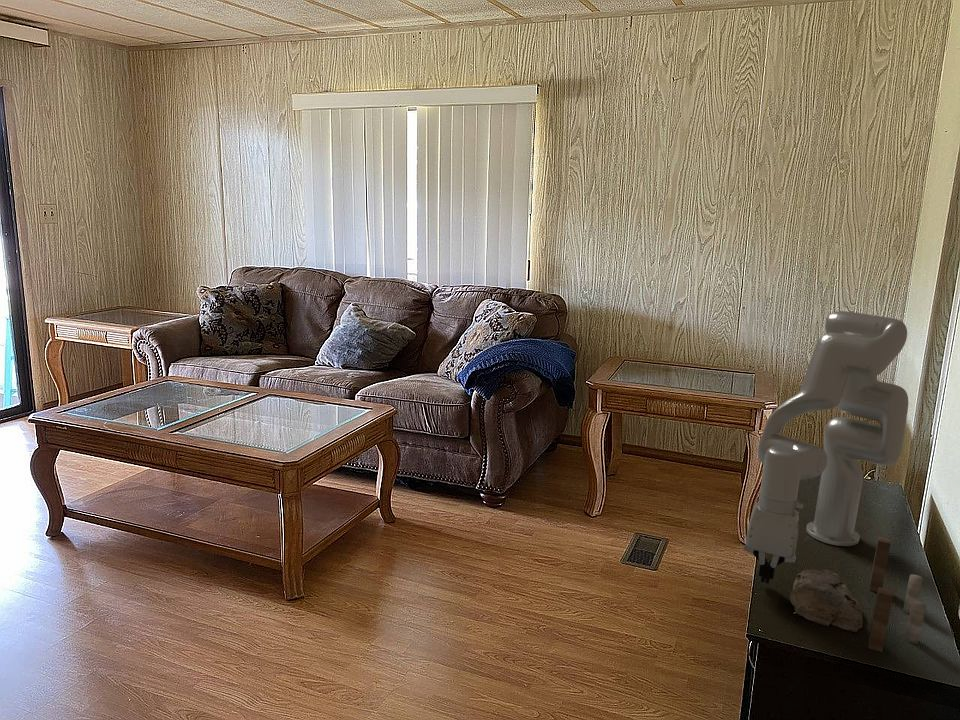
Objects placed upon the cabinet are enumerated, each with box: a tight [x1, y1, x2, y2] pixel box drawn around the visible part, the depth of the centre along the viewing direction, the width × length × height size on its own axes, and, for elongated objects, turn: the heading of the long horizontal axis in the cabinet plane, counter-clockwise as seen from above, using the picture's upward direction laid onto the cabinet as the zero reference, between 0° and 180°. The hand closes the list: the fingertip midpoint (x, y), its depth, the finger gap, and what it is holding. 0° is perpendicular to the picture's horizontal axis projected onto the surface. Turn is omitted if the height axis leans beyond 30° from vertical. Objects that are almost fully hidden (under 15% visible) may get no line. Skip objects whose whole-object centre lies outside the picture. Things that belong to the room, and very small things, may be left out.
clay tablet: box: [789, 568, 864, 633], centre depth 161 cm, size 14×5×20 cm
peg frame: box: [868, 536, 927, 653], centre depth 154 cm, size 27×9×12 cm, turn 153°
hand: (765, 580), depth 166 cm, fingers closed
